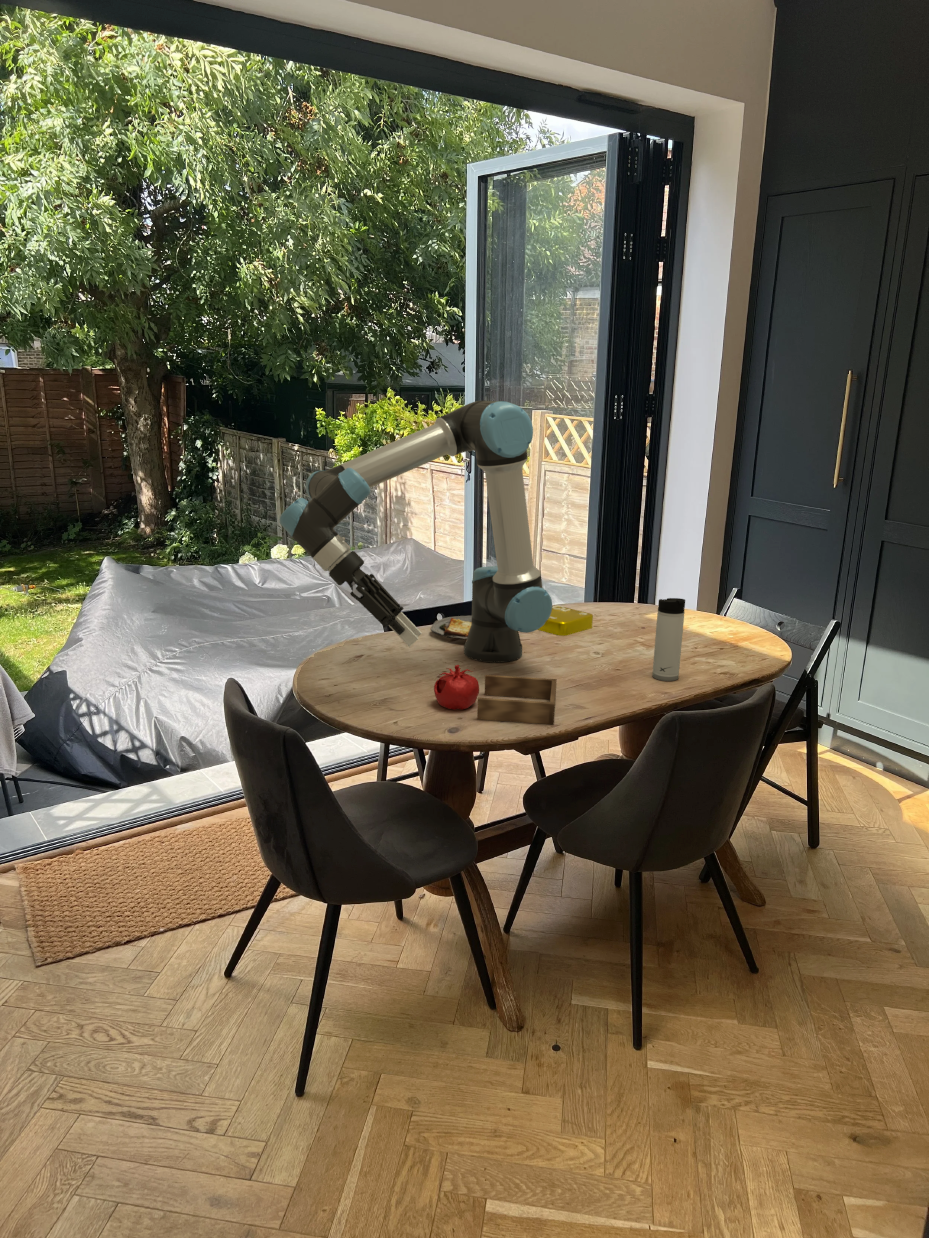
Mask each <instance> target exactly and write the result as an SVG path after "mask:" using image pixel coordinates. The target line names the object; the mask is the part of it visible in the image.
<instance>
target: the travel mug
mask: <svg viewBox="0 0 929 1238" xmlns="http://www.w3.org/2000/svg"><path fill="white" fill-rule="evenodd" d="M685 608H686V599H684V598H679V597H668V598H665V599H663V598H660V599H658V608H657V614H656V615H657V616H656V626H655V627H656V628H655V639H654V649H653V650H654V651H653V662H652V663H653V664H652V673H651V675H652V677H653V678H654V679H655V680H658V681H662V682H675V681H678V679H679V678H680V677H679V675H680V664H681V656H682V645H683V644H682V643H683V632H684V624H685Z"/></svg>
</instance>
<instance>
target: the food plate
mask: <svg viewBox="0 0 929 1238" xmlns="http://www.w3.org/2000/svg"><path fill="white" fill-rule="evenodd" d="M471 624H472V615H460V616H459V615H458V616H449V617H448V616H447V617H444V618H441V619H437V620H435V621H434V622H433V624H432V625H431V627H430V631H431V632H432V633H433V634H437V635H439V636H442V637H446V638H448V639H460V640H467V637H468V634H469V631H470V628H471Z"/></svg>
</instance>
